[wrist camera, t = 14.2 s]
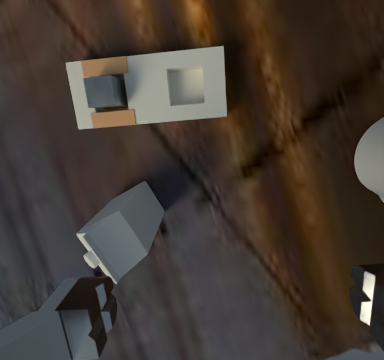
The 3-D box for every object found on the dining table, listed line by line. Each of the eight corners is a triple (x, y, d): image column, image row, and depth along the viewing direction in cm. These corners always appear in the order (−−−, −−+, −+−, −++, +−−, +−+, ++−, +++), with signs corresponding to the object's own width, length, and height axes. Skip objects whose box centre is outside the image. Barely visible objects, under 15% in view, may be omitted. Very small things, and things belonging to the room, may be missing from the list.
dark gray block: (126, 81, 41) (110, 75, 34) (130, 106, 42) (115, 105, 35) (102, 83, 41) (82, 77, 35) (106, 108, 42) (88, 107, 36)
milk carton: (145, 180, 47) (107, 223, 28) (165, 211, 48) (141, 272, 30) (114, 197, 48) (58, 250, 29) (134, 227, 49) (93, 295, 31)
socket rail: (221, 52, 40) (223, 45, 36) (224, 116, 43) (227, 116, 39) (78, 67, 42) (64, 62, 38) (89, 127, 45) (78, 129, 40)
